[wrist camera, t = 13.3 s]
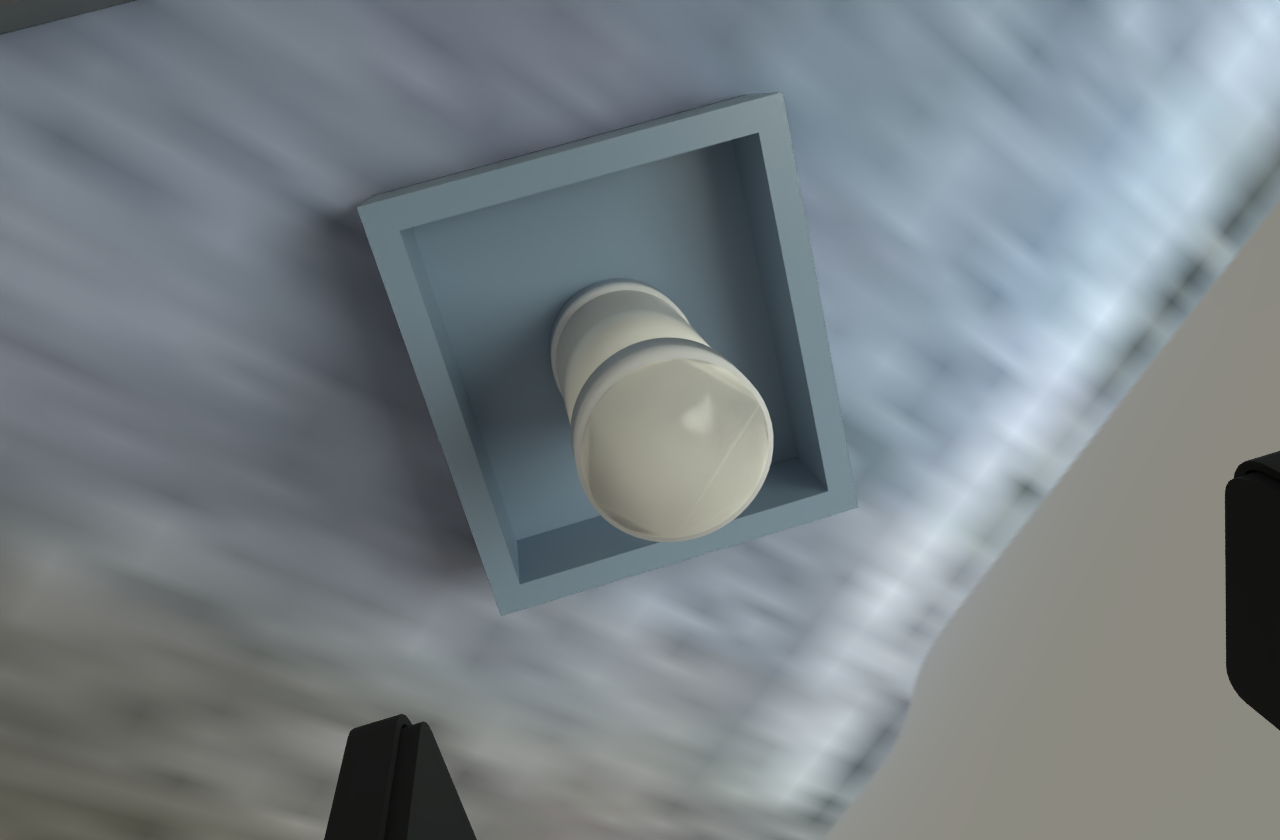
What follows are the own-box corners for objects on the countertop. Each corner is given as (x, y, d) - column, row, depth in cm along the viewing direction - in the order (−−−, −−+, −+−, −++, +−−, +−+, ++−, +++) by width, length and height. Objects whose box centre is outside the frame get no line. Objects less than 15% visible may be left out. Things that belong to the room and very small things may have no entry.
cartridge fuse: (669, 261, 27) (752, 328, 18) (700, 392, 28) (789, 510, 20) (532, 300, 27) (551, 386, 18) (570, 429, 28) (605, 565, 20)
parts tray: (746, 94, 26) (782, 92, 23) (818, 464, 30) (858, 507, 27) (373, 195, 26) (356, 207, 22) (499, 560, 30) (501, 615, 26)
